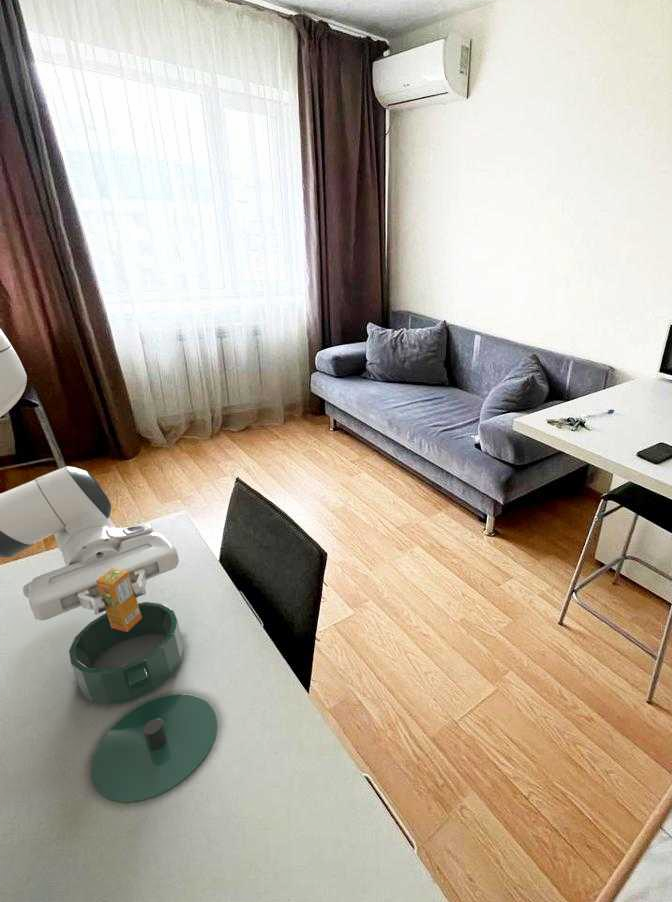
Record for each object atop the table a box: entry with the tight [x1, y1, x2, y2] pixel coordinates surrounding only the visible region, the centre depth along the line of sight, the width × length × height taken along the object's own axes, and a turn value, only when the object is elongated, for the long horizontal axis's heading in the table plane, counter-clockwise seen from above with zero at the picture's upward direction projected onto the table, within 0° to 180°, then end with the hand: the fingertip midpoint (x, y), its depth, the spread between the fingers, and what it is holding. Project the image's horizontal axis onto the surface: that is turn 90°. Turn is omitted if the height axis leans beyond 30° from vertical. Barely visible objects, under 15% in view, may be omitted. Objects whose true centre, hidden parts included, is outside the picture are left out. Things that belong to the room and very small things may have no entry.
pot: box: [68, 601, 185, 705], centre depth 81 cm, size 15×20×8 cm
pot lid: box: [90, 693, 218, 803], centre depth 70 cm, size 16×16×5 cm
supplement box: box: [96, 568, 142, 632], centre depth 77 cm, size 3×3×10 cm
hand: (120, 600), depth 76 cm, fingers closed on supplement box, 4 cm apart
